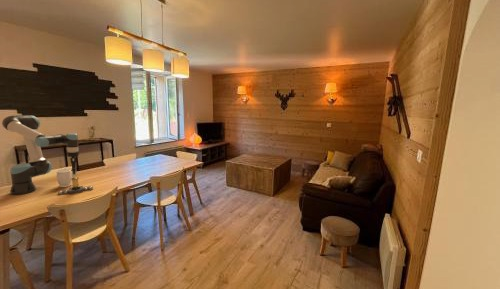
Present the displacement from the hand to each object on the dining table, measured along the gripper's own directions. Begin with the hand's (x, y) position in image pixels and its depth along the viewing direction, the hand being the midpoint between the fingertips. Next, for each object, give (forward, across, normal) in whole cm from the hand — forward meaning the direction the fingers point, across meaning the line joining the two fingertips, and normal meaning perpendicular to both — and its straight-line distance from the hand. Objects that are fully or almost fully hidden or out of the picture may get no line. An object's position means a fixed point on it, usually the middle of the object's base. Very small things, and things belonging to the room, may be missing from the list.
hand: (74, 175), depth 187 cm
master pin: (+15, +1, 0) cm, 15 cm away
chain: (+15, +1, 0) cm, 15 cm away
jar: (+15, -19, -7) cm, 26 cm away
